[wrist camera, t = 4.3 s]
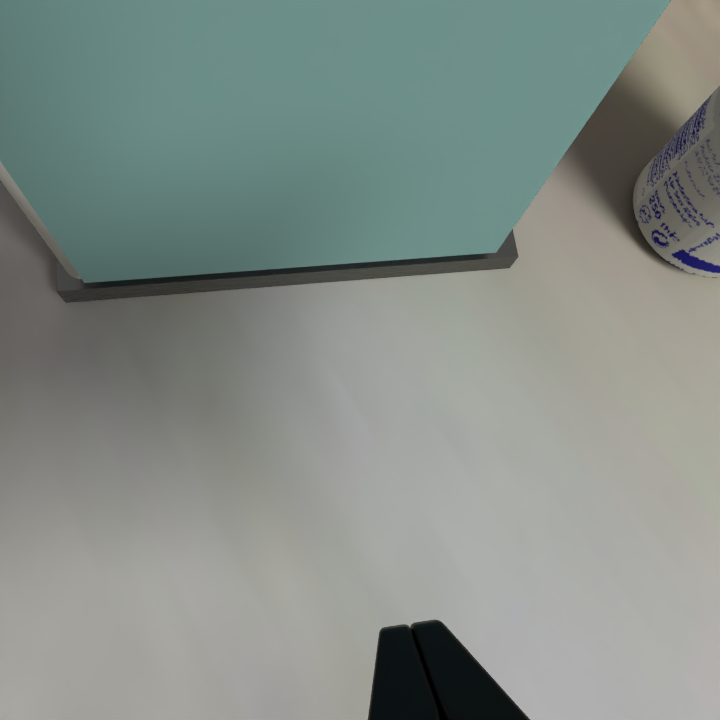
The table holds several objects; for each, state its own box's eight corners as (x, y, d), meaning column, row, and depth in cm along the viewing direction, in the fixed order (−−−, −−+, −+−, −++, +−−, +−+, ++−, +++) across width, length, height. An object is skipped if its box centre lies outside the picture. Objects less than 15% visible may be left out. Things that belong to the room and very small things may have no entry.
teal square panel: (495, 253, 24) (734, -92, 12) (68, 284, 22) (-215, -94, 9) (490, 227, 25) (718, -136, 12) (68, 256, 22) (-209, -147, 10)
